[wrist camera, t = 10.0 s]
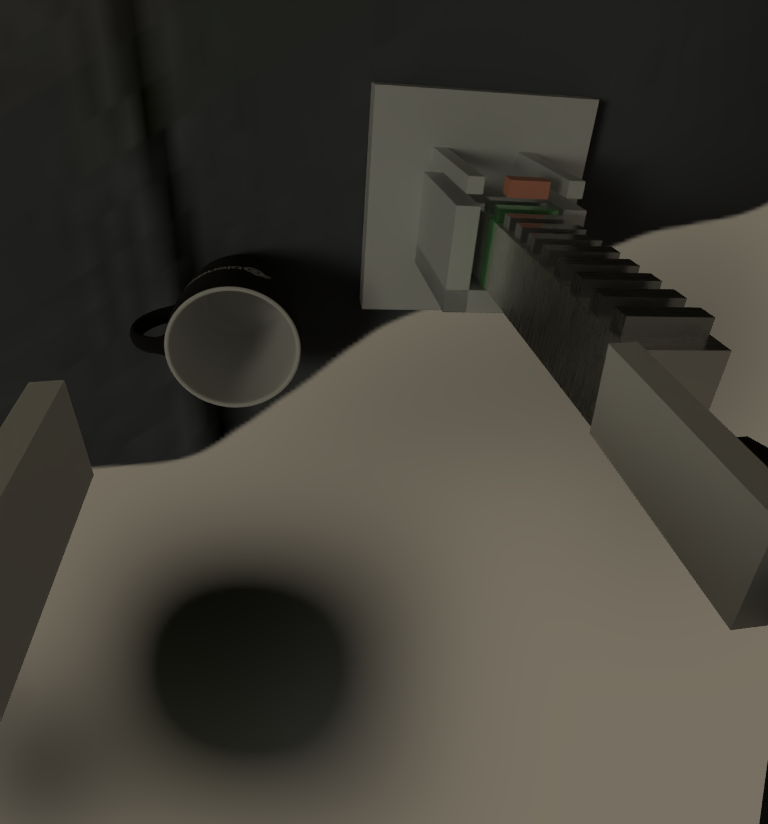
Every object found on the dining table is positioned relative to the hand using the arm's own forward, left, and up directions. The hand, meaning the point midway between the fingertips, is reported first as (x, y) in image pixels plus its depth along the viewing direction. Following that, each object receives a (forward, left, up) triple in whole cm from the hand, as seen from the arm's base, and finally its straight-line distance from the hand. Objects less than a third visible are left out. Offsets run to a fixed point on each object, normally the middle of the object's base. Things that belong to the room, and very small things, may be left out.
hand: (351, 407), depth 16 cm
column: (+3, +13, -28) cm, 31 cm away
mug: (+11, -6, -36) cm, 39 cm away
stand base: (+3, +13, -36) cm, 38 cm away
